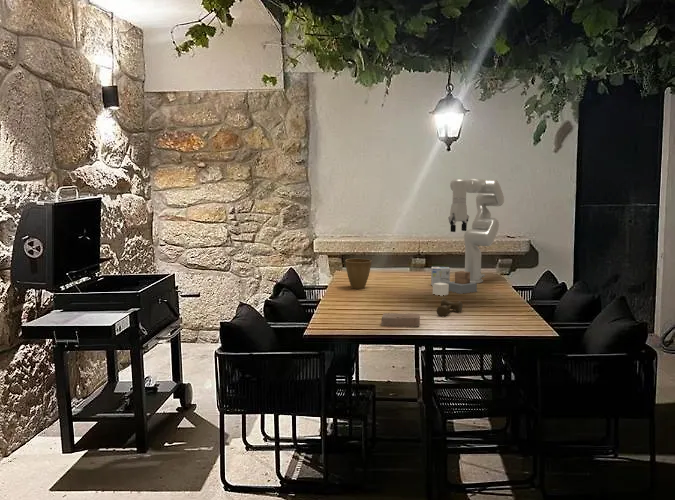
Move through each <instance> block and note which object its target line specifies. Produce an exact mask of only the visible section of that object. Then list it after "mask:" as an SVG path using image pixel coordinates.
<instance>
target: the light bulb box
mask: <svg viewBox="0 0 675 500" xmlns="http://www.w3.org/2000/svg"><path fill="white" fill-rule="evenodd" d="M430 271H431V272H430V275H431V278H430V279H431V285H432V286H431V287H433V284H434V283H446V282H451V279H450V277H451V272H450V271H451V269H450V267H449V266H431V270H430Z"/></svg>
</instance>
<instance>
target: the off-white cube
mask: <svg viewBox="0 0 675 500" xmlns="http://www.w3.org/2000/svg"><path fill="white" fill-rule="evenodd" d="M449 293H450V291H449V284H446V283H434V284H433V286H432V295H433V294H435V295H434V296H438V295H440V296H439V297H444V296H448V295H449ZM443 295H444V296H443Z"/></svg>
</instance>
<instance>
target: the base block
mask: <svg viewBox="0 0 675 500" xmlns="http://www.w3.org/2000/svg"><path fill="white" fill-rule="evenodd" d="M446 284H449V292H450V291H452V292H451V293H455V292H456V293H455V294H460V295H461V294H463V293H464V294H468V293H470V292H471V293H477V292H478V291H477V290H478V289H477V288H478V283H472V282H470V283H467V284H459V283H455V280H453V281H450V282H446Z"/></svg>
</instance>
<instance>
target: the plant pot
mask: <svg viewBox="0 0 675 500" xmlns="http://www.w3.org/2000/svg"><path fill="white" fill-rule="evenodd" d="M372 261H373V260H371V259H367V258H347V259H345V269H346V275H347V278H348V281H349V284H350V287H351V288H352V289H354V290H363V289H365V288H366V285H367V282H368V279H369V277H370V272H371V266H372Z"/></svg>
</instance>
